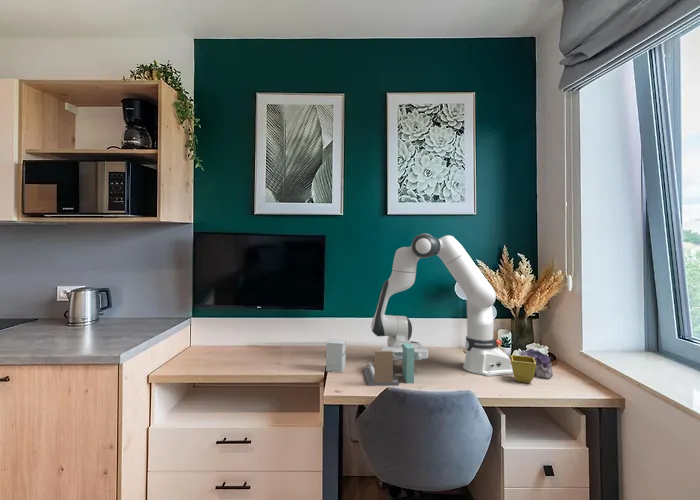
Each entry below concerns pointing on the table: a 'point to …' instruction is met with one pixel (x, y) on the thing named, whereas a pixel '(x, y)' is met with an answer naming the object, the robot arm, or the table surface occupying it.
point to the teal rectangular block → (408, 363)
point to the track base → (381, 370)
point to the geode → (540, 363)
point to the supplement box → (335, 355)
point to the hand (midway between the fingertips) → (407, 358)
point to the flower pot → (523, 368)
